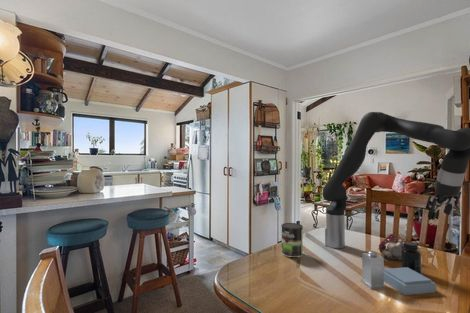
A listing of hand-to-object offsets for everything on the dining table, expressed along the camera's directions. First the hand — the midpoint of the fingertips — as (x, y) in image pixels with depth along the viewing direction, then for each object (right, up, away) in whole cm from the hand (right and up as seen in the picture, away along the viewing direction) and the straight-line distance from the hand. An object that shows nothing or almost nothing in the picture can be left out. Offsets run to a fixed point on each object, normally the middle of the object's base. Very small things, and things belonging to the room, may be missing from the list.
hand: (438, 216), depth 101 cm
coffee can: (-54, -24, +23) cm, 63 cm away
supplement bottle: (-9, -24, +2) cm, 26 cm away
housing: (-30, -24, -7) cm, 39 cm away
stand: (-18, -24, -7) cm, 31 cm away
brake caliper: (-8, -24, +18) cm, 31 cm away
